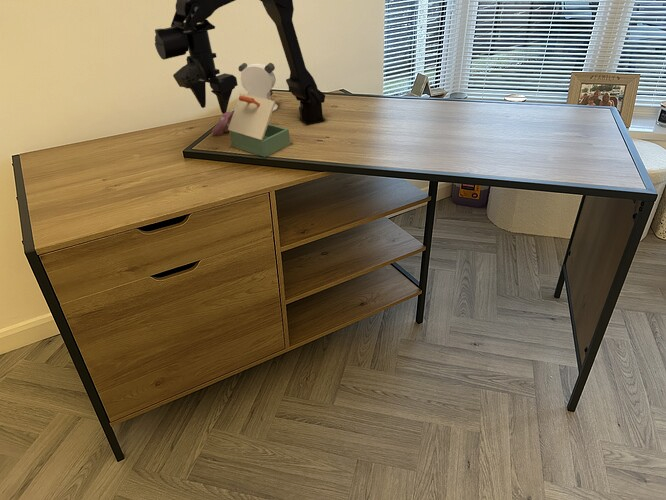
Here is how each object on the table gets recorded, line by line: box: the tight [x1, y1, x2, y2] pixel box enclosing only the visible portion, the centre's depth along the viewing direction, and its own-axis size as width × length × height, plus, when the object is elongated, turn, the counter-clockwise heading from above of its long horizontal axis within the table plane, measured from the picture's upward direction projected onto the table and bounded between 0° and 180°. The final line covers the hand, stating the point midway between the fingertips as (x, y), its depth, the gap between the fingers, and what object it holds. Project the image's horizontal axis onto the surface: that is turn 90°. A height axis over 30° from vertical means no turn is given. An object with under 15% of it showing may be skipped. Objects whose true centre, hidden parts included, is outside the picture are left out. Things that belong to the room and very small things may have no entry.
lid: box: [227, 92, 277, 140], centre depth 134 cm, size 11×14×4 cm
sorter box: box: [228, 123, 291, 158], centre depth 141 cm, size 10×14×5 cm
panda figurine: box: [238, 62, 278, 112], centre depth 164 cm, size 12×11×15 cm
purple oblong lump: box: [211, 109, 234, 136], centre depth 152 cm, size 10×5×7 cm, turn 168°
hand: (213, 110), depth 132 cm, fingers open, 9 cm apart
